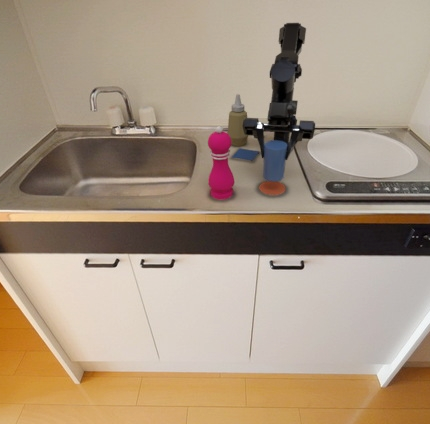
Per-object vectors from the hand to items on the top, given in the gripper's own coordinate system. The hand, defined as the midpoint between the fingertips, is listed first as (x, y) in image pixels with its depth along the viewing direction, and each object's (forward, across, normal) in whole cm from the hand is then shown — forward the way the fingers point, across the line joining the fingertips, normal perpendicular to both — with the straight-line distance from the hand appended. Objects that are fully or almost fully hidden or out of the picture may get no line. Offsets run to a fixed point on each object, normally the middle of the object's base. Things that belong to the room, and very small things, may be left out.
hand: (274, 158), depth 75 cm
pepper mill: (+10, -14, +4) cm, 18 cm away
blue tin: (+3, 0, +5) cm, 6 cm away
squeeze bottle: (-15, -16, +30) cm, 37 cm away
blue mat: (-8, -12, +23) cm, 27 cm away
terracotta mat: (+6, 0, +8) cm, 10 cm away
